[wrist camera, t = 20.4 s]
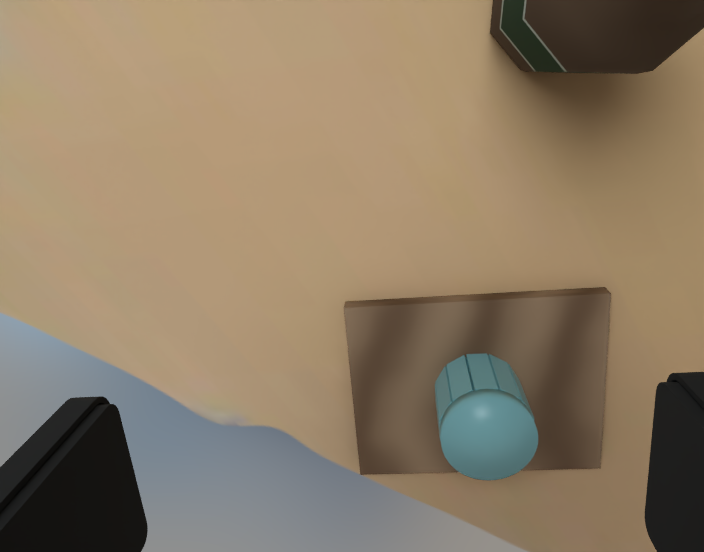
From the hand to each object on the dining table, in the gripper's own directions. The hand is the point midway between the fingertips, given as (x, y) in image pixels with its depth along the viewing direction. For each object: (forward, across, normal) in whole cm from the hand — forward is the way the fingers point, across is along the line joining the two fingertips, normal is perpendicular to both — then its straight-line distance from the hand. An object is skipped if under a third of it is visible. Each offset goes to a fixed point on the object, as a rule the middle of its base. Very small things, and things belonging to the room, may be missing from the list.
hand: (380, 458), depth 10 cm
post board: (+30, -5, +16) cm, 35 cm away
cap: (+29, -5, +16) cm, 34 cm away
